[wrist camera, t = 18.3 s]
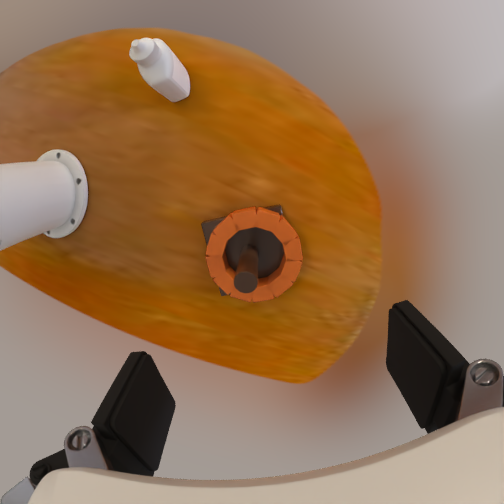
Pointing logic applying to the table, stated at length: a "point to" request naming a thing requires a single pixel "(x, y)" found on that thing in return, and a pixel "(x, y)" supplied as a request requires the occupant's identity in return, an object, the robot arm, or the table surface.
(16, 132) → the table surface
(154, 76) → the eye dropper bottle
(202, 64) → the table surface
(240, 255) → the post
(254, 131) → the table surface
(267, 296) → the ring
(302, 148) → the table surface
